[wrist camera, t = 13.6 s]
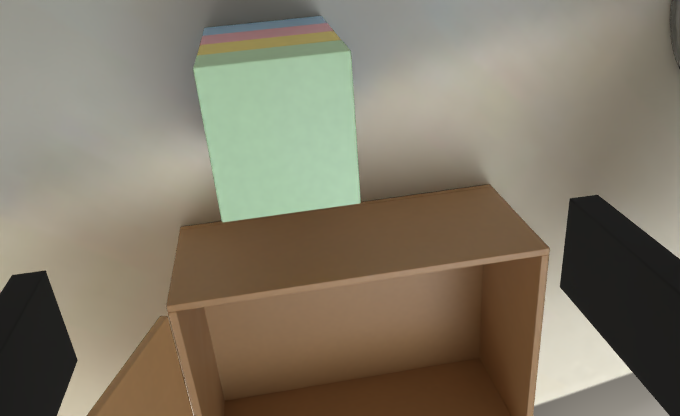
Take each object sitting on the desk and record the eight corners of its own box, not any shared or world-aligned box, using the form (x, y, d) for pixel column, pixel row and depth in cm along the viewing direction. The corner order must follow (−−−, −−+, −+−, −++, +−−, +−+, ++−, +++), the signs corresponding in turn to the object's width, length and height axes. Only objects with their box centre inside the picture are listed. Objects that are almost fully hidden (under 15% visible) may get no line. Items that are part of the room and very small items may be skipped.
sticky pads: (321, 15, 30) (351, 50, 23) (332, 136, 33) (360, 203, 26) (204, 27, 30) (192, 67, 22) (225, 149, 33) (221, 223, 25)
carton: (219, 401, 41) (216, 502, 34) (180, 226, 34) (166, 306, 27) (482, 357, 43) (530, 444, 36) (490, 183, 36) (550, 248, 29)
